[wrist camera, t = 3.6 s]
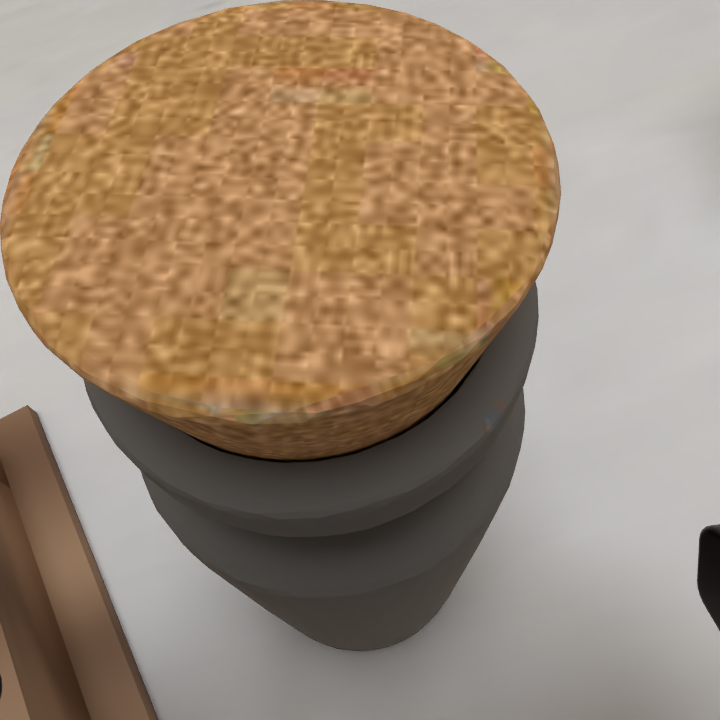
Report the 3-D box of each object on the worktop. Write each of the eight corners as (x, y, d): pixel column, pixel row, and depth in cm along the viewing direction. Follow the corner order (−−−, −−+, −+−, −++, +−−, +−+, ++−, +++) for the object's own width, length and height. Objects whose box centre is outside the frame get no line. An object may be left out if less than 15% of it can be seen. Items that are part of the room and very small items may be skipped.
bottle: (226, 598, 18) (-248, 322, 5) (314, 425, 20) (170, -80, 7) (416, 691, 16) (515, 676, 3) (485, 493, 19) (700, 28, 6)
